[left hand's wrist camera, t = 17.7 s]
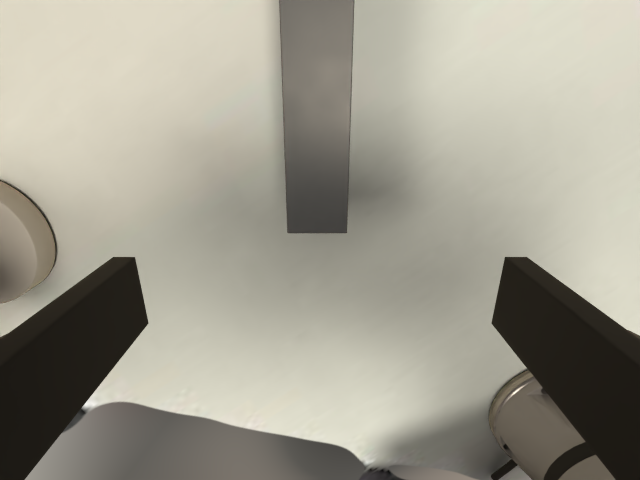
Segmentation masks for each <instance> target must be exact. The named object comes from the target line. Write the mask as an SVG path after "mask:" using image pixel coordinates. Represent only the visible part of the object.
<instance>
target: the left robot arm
mask: <svg viewBox="0 0 640 480" xmlns="http://www.w3.org/2000/svg"><path fill="white" fill-rule="evenodd" d="M147 324H148V319H147V314H146V309H145V304H144V299H143V294H142V289H141V285H140V280H139V275H138V270H137V265H136V260H135V257H113V258H111V259H110V260H109V261H107V262H106V263H105V264H103V265H102V266H100V267H99V268H98V269H96V270H95V271H94V272H92V273H91V274H89V275H88V276H87V277H85V278H84V279H83V280H81V281H80V282H78V283H77V284H76V285H74V286H73V287H72V288H70V289H69V290H67V291H66V292H65V293H63V294H62V295H61V296H59V297H58V298H56V299H55V300H54V301H52V302H51V303H50V304H48V305H47V306H45V307H44V308H43V309H41V310H40V311H39V312H37V313H36V314H34V315H33V316H32V317H30V318H29V319H28V320H26V321H25V322H23V323H22V324H21V325H19V326H18V327H17V328H15V329H14V330H12V331H11V332H10V333H8V334H6V335H4V336H2V337H0V480H25V478H26V477H27V476H28V475H29V473H30V472H31V471H32V470H33V468H34V467H35V466H36V464H37V463H38V462H39V461H40V459H41V458H42V457H43V456H44V454H45V453H46V452H47V451H48V449H49V448H50V447H51V446H52V444H53V443H54V442H55V440H56V439H57V438H58V437H59V435H60V434H61V433H62V432H63V430H64V429H65V428H66V427H67V425H68V424H69V423H70V422H71V420H72V419H73V418H74V417H75V415H76V414H77V413H78V411H79V410H80V409H81V408H82V406H83V405H84V404H85V403H86V401H87V400H88V399H89V398H90V396H91V395H92V394H93V393H94V391H95V390H96V389H97V388H98V386H99V385H100V384H101V382H102V381H103V380H104V379H105V377H106V376H107V375H108V374H109V372H110V371H111V370H112V369H113V367H114V366H115V365H116V364H117V362H118V361H119V360H120V358H121V357H122V356H123V355H124V353H125V352H126V351H127V350H128V348H129V347H130V346H131V345H132V343H133V342H134V341H135V340H136V338H137V337H138V336H139V335H140V333H141V332H142V331H143V329H144V328H145V327H146V326H147ZM492 324H493V326H494V327H495V328H496V329H497V331H498V332H499V333H500V335H501V336H502V337H503V338H504V340H505V341H506V342H507V343H508V345H509V346H510V347H511V348H512V350H513V351H514V352H515V353H516V355H517V356H518V357H519V358H520V360H521V361H522V362H523V364H524V365H525V366H526V367H527V369H528V370H527V371H525V372H523V373H521V374H520V375H518V376H517V377H515V378H514V379H512V380H511V381H510V382H508V383H507V384H506V385H505V386H504V387H503V388H502V389H501V390H500V392H499V393H498V394H497V396H496V397H495V399H494V401H493V403H492V405H491V408H490V412H489V424H490V428H491V430H492V432H493V434H494V436H495V438H496V440H497V442H498V444H499V445H500V447H501V448H502V449H503V450H504V451H505V453H506V454H507V455H508V456H509V457H511V458H512V459H511V460H510V461H509V462H507V463H506V464H505V465H504V466H502V467H501V468H500V469H498V470H497V471H496V472H494V473H493V474H492V475H491V477H492V479H493V480H498V479H500V478H501V477H502V476H504V475H505V474H506V473H508V472H509V471H510V470H512V469H513V468H514V467H516V466H517V465H518V466H519V467H520V468H521V469H522V470H523V471H524V472H525V473H526V474H527V475H528V476H529V477H530V478H531V479H532V480H640V336H639V335H637V334H635V333H633V332H631V331H629V330H626V329H625V328H623V327H622V326H621V325H619V324H618V323H617V322H615V321H614V320H612V319H611V318H610V317H608V316H607V315H606V314H604V313H603V312H601V311H600V310H599V309H597V308H596V307H595V306H593V305H592V304H590V303H589V302H588V301H586V300H585V299H584V298H582V297H581V296H579V295H578V294H577V293H575V292H574V291H573V290H571V289H570V288H568V287H567V286H566V285H564V284H563V283H562V282H560V281H559V280H557V279H556V278H555V277H553V276H552V275H551V274H549V273H548V272H546V271H545V270H544V269H542V268H541V267H540V266H538V265H537V264H535V263H534V262H533V261H531V260H530V259H529V258H527V257H505V260H504V265H503V270H502V275H501V280H500V285H499V289H498V294H497V299H496V304H495V309H494V314H493V319H492Z"/></svg>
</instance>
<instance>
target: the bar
mask: <svg viewBox="0 0 640 480" xmlns="http://www.w3.org/2000/svg"><path fill="white" fill-rule="evenodd" d="M279 4H280V32H281V61H282V89H283V118H284V146H285V175H286V203H287V232H288V233H347V214H348V182H349V151H350V119H351V88H352V56H353V24H354V0H279Z"/></svg>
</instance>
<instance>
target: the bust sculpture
mask: <svg viewBox="0 0 640 480" xmlns="http://www.w3.org/2000/svg"><path fill="white" fill-rule="evenodd" d="M54 260H55V243H54V238H53V235H52V232H51V230H50V227H49V225H48V223H47V222H46V220H45V218H44V217H43V215H42V214H41V213H40V211H39V210H38V209H37V208H36V207H35V205H34V204H33V203H32V202H31V201H30V200H29V199H27V198H26V197H25V196H24V195H23V194H21V193H20V192H19V191H17V190H16V189H14V188H12V187H11V186H9V185H7V184H5V183H3V182H1V181H0V303H5V302H9V301H11V300H14V299H16V298H18V297H20V296H21V295H23V294H24V293H26V292H27V291H29V290H30V289H32V288H33V287H35V286H36V285H38V284H39V283H41V282H42V281H43V280H44V279H45V278H46V277H47V276H48V274H49V273H50V271H51V269H52V267H53V264H54Z"/></svg>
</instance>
